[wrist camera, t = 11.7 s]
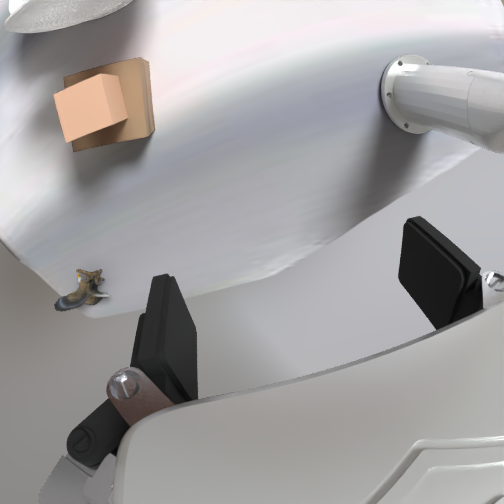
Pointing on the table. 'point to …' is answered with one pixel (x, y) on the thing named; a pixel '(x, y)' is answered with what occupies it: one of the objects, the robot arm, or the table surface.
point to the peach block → (90, 106)
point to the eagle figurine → (83, 292)
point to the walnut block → (135, 98)
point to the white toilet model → (56, 13)
